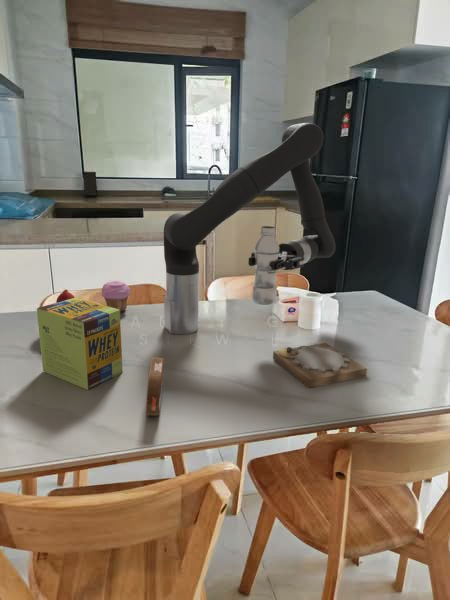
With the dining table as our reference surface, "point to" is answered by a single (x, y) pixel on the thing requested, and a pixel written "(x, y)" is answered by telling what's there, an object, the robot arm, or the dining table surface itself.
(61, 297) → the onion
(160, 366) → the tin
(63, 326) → the protein box
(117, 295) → the cupcake
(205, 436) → the dining table surface
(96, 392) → the dining table surface
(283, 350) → the gear board
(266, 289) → the plastic bottle
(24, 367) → the dining table surface
